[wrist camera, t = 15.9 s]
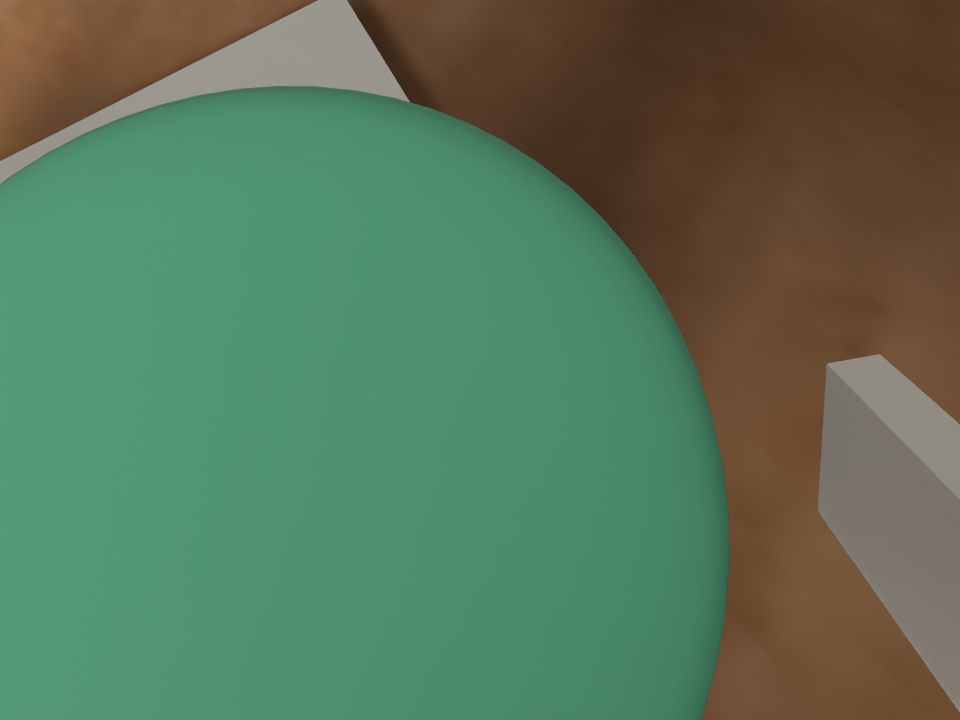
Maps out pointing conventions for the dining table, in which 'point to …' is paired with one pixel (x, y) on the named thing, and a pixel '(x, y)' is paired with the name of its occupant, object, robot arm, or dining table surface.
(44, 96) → the dining table surface
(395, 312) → the milk bottle
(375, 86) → the crank plate
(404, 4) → the dining table surface
